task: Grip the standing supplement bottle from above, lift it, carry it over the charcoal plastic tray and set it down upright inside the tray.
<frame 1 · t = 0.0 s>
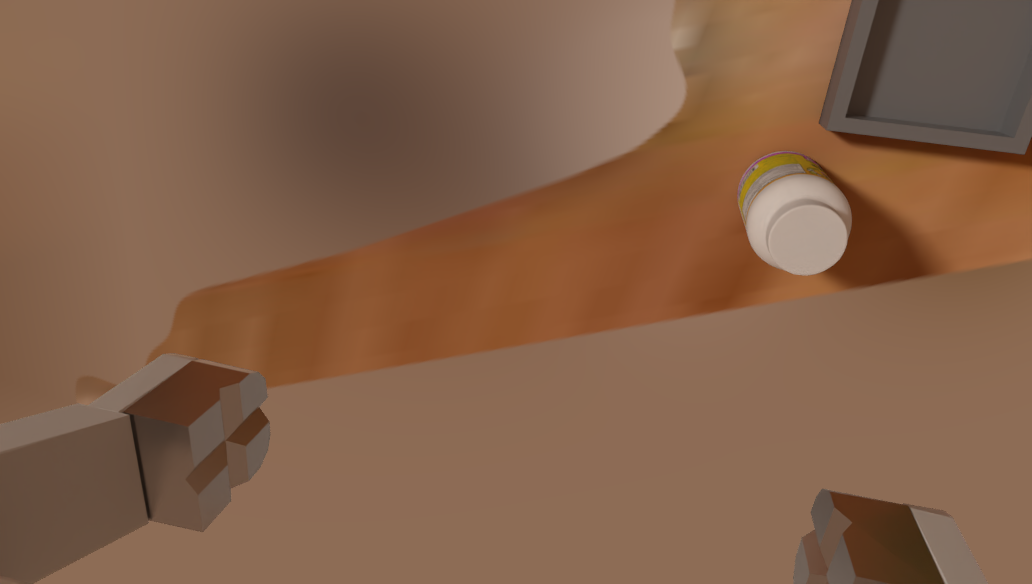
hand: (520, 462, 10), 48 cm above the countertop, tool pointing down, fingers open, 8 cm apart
supplement bottle: (779, 189, 54), on the countertop
tray: (945, 26, 47), on the countertop
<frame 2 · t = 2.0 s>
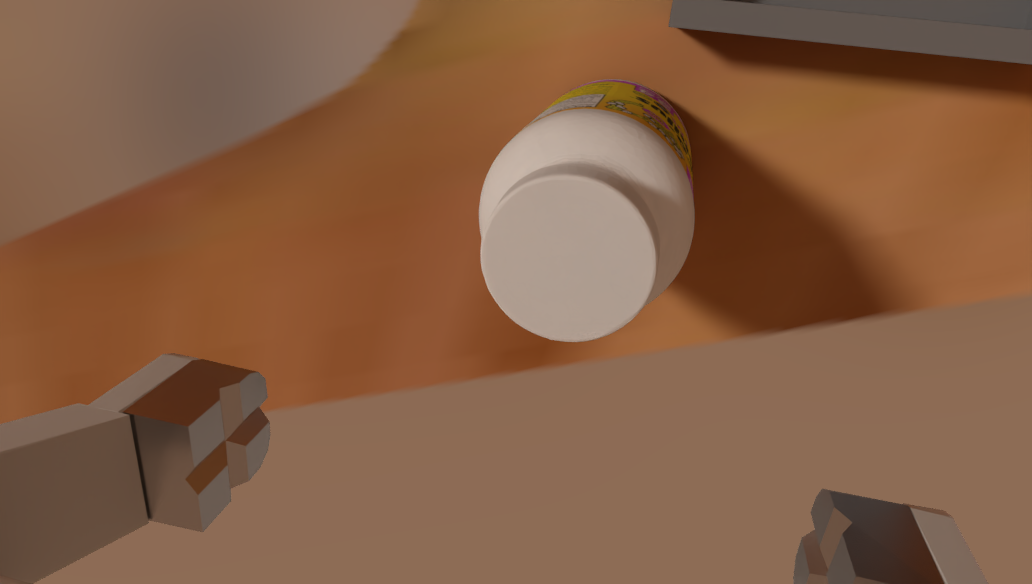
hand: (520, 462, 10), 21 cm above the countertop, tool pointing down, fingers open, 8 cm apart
supplement bottle: (611, 155, 29), on the countertop
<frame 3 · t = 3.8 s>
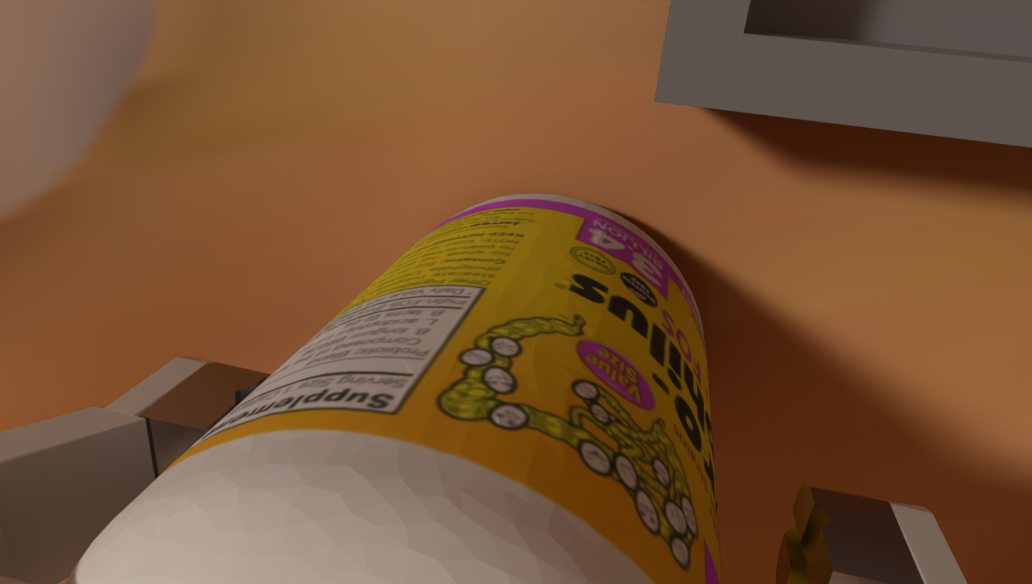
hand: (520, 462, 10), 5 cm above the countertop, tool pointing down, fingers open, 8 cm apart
supplement bottle: (548, 327, 15), on the countertop, touching gripper
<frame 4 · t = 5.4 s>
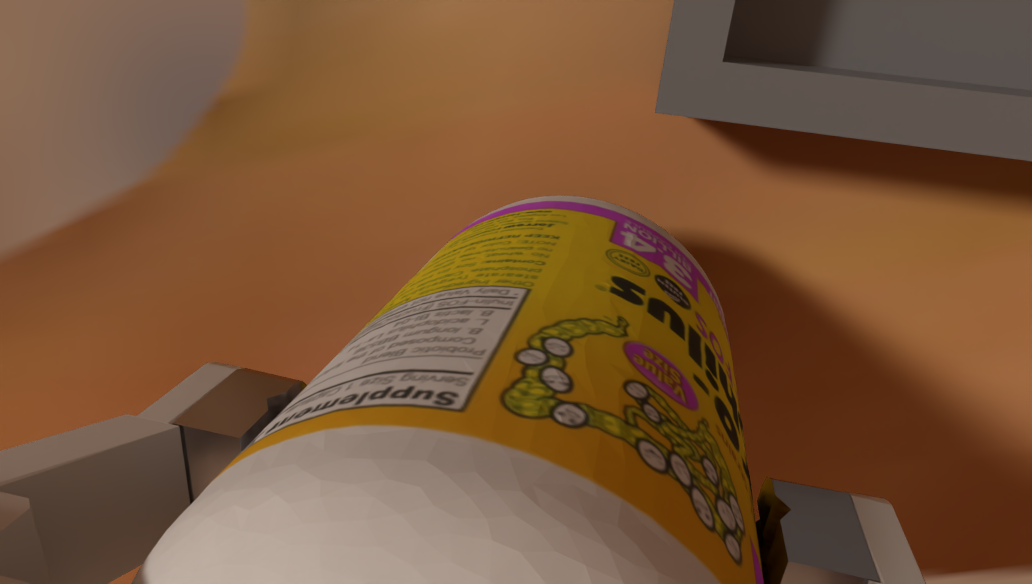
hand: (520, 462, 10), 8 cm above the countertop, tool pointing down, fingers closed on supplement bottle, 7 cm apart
supplement bottle: (571, 327, 15), point 2 cm above the countertop, touching gripper
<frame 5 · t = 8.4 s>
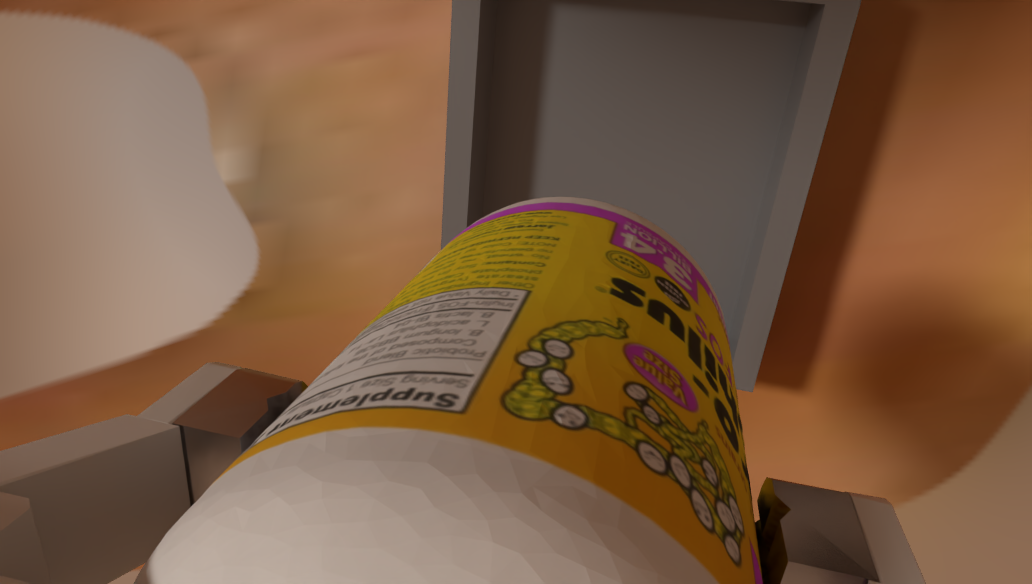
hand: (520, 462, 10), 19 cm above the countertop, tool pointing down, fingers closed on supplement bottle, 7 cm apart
supplement bottle: (571, 328, 15), point 14 cm above the countertop, touching gripper
tray: (622, 164, 27), on the countertop
when the fingers open (7 cm above the countertop, at t = 11.4 s): supplement bottle drops 1 cm, resting on tray.
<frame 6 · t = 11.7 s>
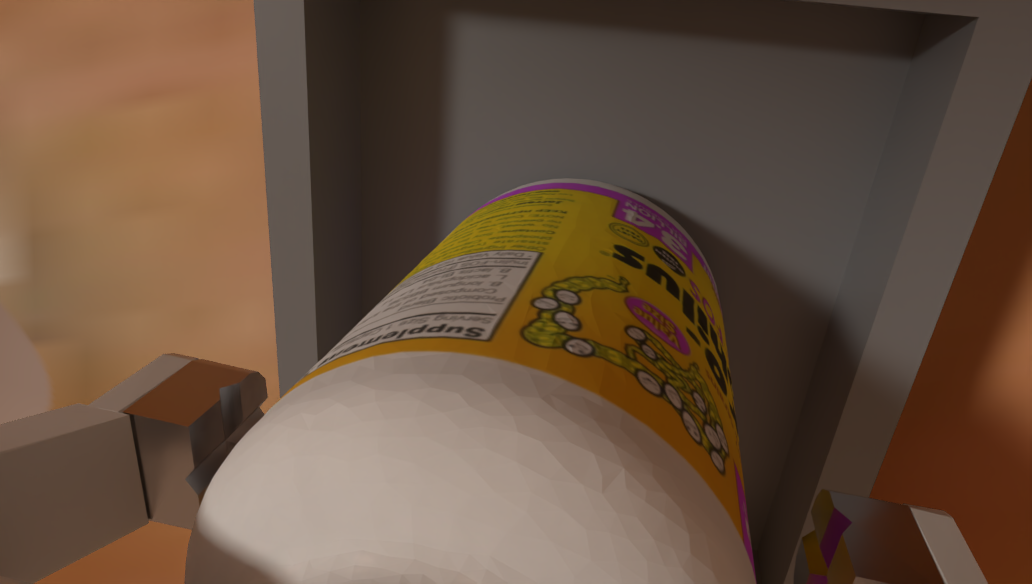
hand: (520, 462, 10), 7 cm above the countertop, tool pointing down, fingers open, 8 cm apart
supplement bottle: (576, 303, 16), resting on tray
tray: (584, 279, 16), on the countertop
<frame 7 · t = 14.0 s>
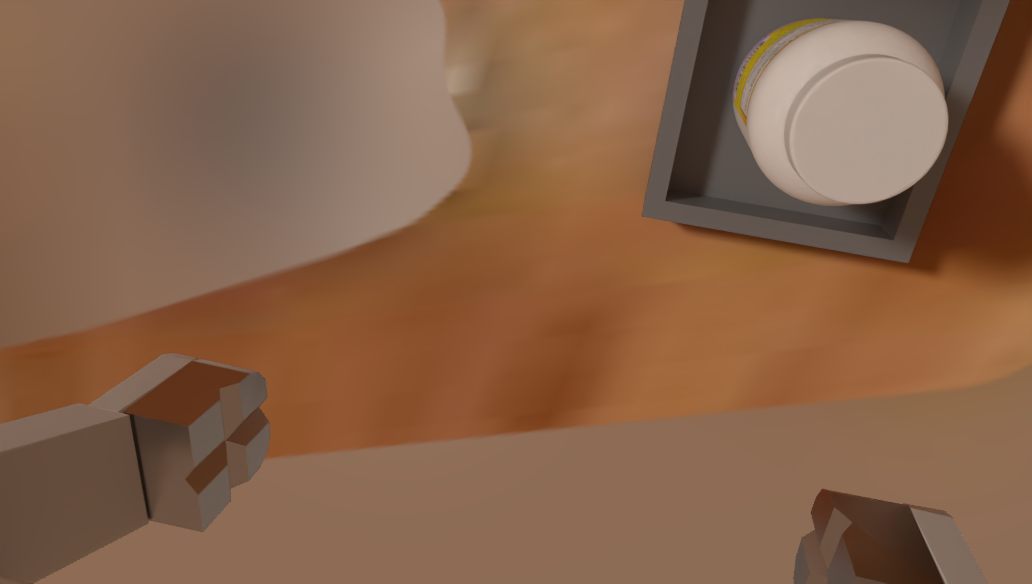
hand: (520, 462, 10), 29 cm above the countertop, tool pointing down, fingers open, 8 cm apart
supplement bottle: (801, 89, 33), resting on tray
tray: (804, 78, 33), on the countertop
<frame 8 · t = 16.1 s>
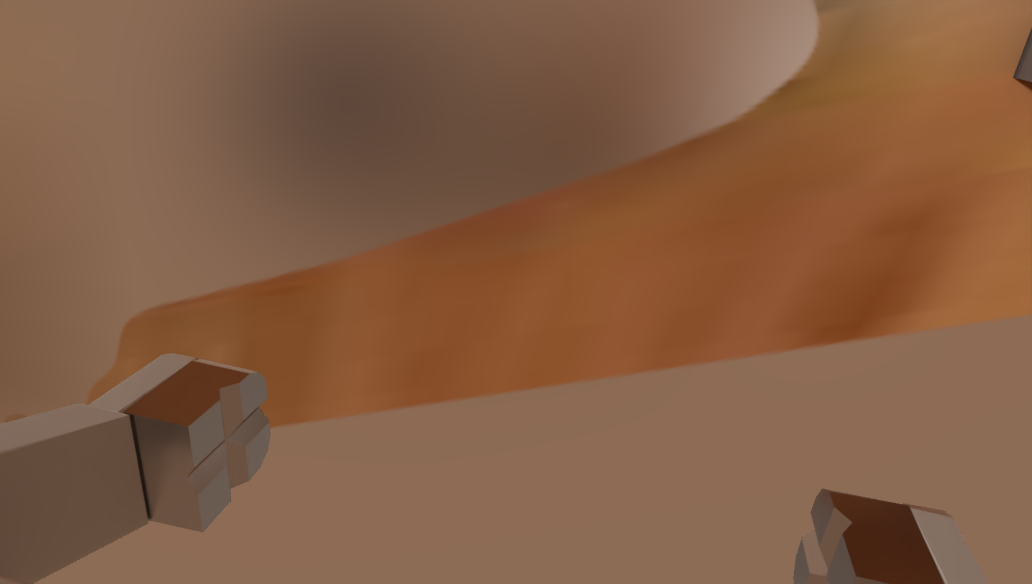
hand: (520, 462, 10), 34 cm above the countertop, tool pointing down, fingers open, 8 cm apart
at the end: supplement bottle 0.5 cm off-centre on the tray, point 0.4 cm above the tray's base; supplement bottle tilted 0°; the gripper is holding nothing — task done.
